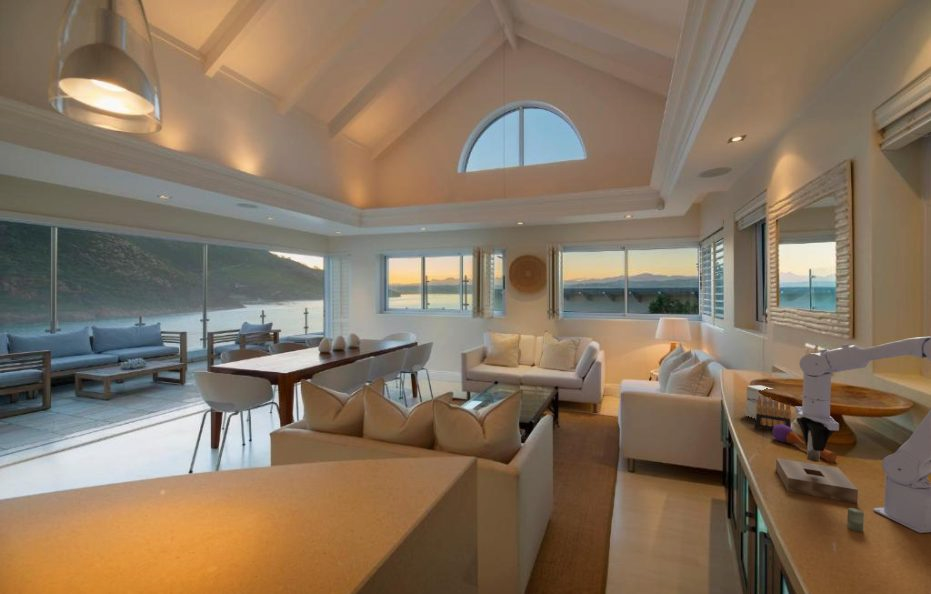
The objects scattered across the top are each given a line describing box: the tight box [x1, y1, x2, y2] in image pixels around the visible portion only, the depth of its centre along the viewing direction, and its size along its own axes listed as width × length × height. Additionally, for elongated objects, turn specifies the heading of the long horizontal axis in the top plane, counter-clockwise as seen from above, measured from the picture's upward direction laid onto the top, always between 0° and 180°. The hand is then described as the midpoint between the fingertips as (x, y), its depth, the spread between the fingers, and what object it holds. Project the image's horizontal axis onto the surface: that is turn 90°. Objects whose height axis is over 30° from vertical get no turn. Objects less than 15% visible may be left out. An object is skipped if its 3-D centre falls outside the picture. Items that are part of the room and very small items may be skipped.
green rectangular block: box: [846, 507, 865, 533], centre depth 94 cm, size 3×3×4 cm
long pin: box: [806, 429, 821, 463], centre depth 114 cm, size 3×3×8 cm
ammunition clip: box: [754, 396, 792, 430], centre depth 158 cm, size 11×2×12 cm, turn 54°
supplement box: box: [745, 385, 775, 420], centre depth 171 cm, size 7×7×13 cm
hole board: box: [775, 457, 859, 504], centre depth 114 cm, size 14×14×4 cm
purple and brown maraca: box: [771, 424, 837, 463], centre depth 139 cm, size 6×6×20 cm
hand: (814, 448), depth 114 cm, fingers closed on long pin, 3 cm apart
